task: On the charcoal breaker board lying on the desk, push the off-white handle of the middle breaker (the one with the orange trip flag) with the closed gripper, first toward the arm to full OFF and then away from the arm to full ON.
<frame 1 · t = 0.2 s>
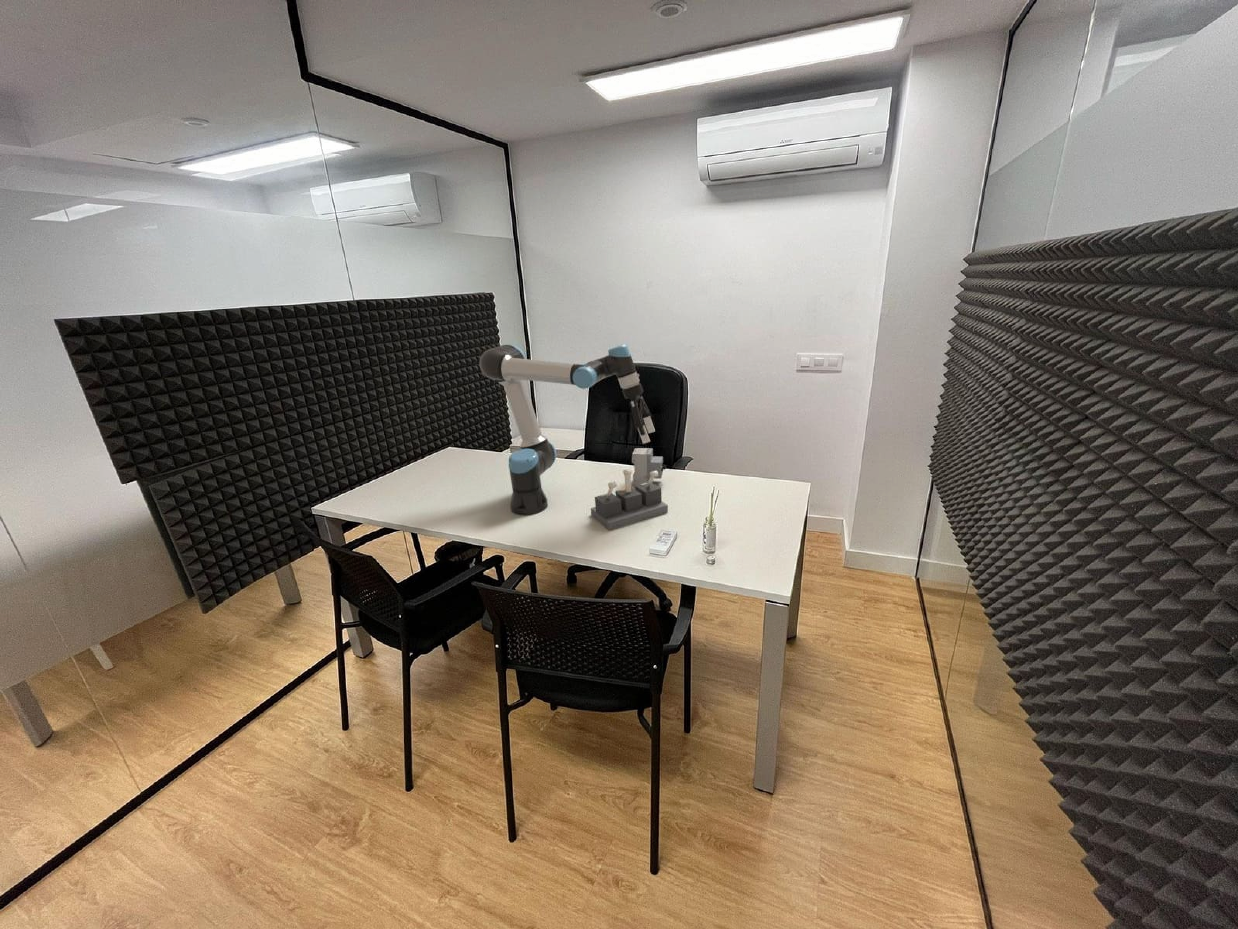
hand: (649, 437, 188), 28 cm above the table, tool tilted 20°, fingers open, 13 cm apart
breaker board: (629, 513, 189), on the table
tripped handle: (627, 480, 184), point 14 cm above the table, hinge at 0.0°
circuit breaker: (650, 483, 216), on the table
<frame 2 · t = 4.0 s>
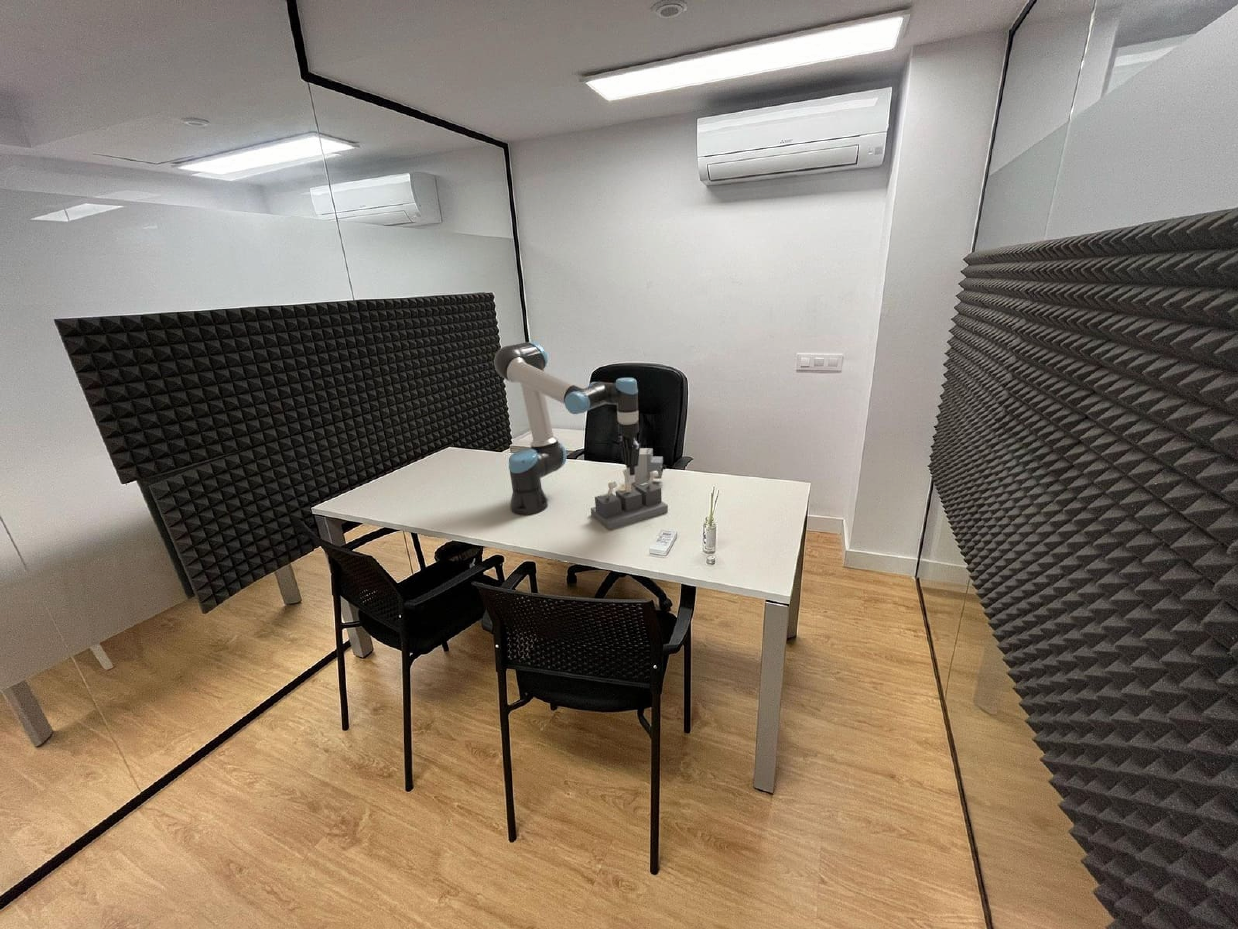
hand: (631, 482, 181), 14 cm above the table, tool pointing down, fingers closed
tripped handle: (627, 480, 184), point 14 cm above the table, hinge at -0.9°, touching gripper
everything else where it was.
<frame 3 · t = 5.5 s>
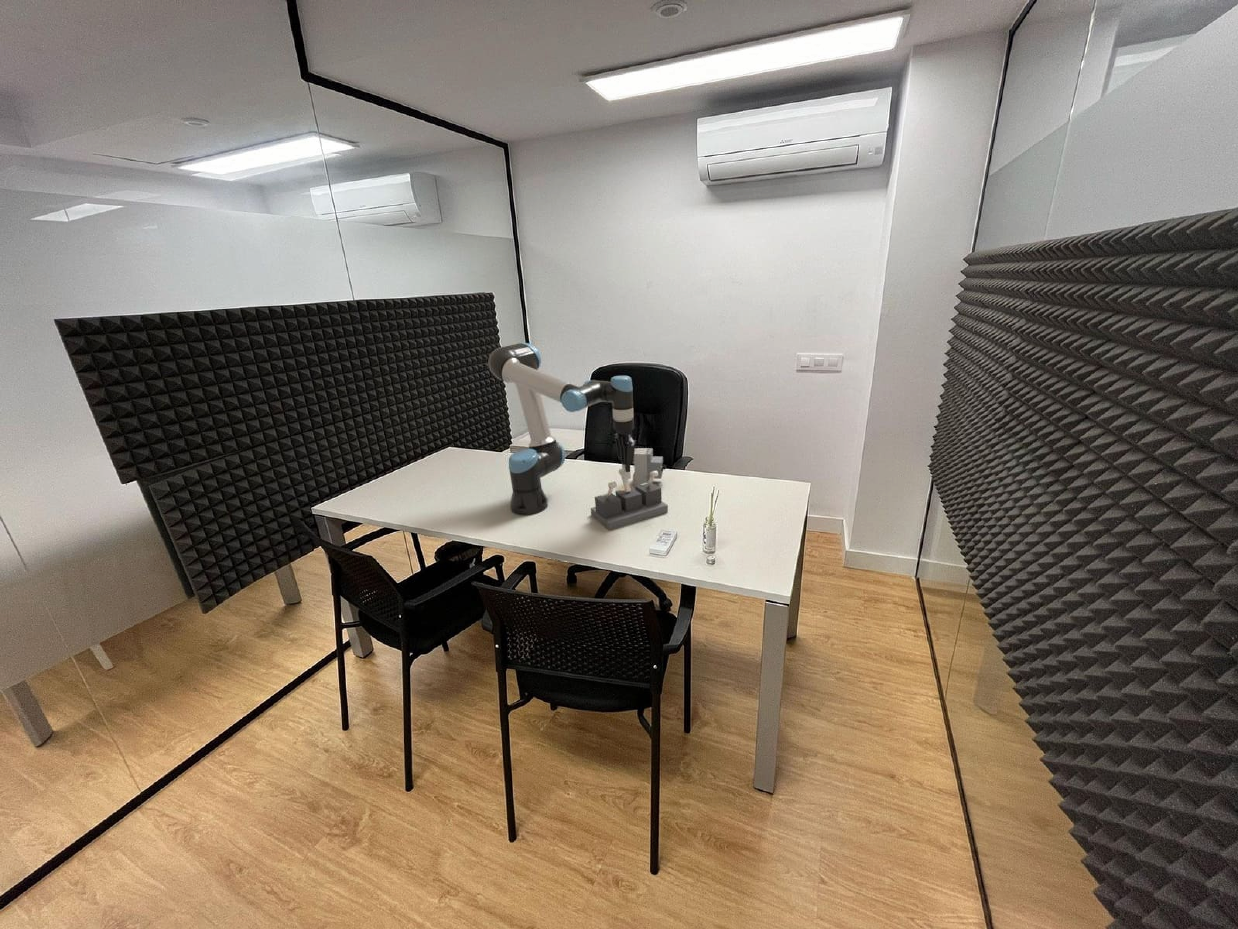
hand: (626, 478, 184), 15 cm above the table, tool pointing down, fingers closed
tripped handle: (625, 480, 185), point 14 cm above the table, hinge at -26.7°
everything else where it was.
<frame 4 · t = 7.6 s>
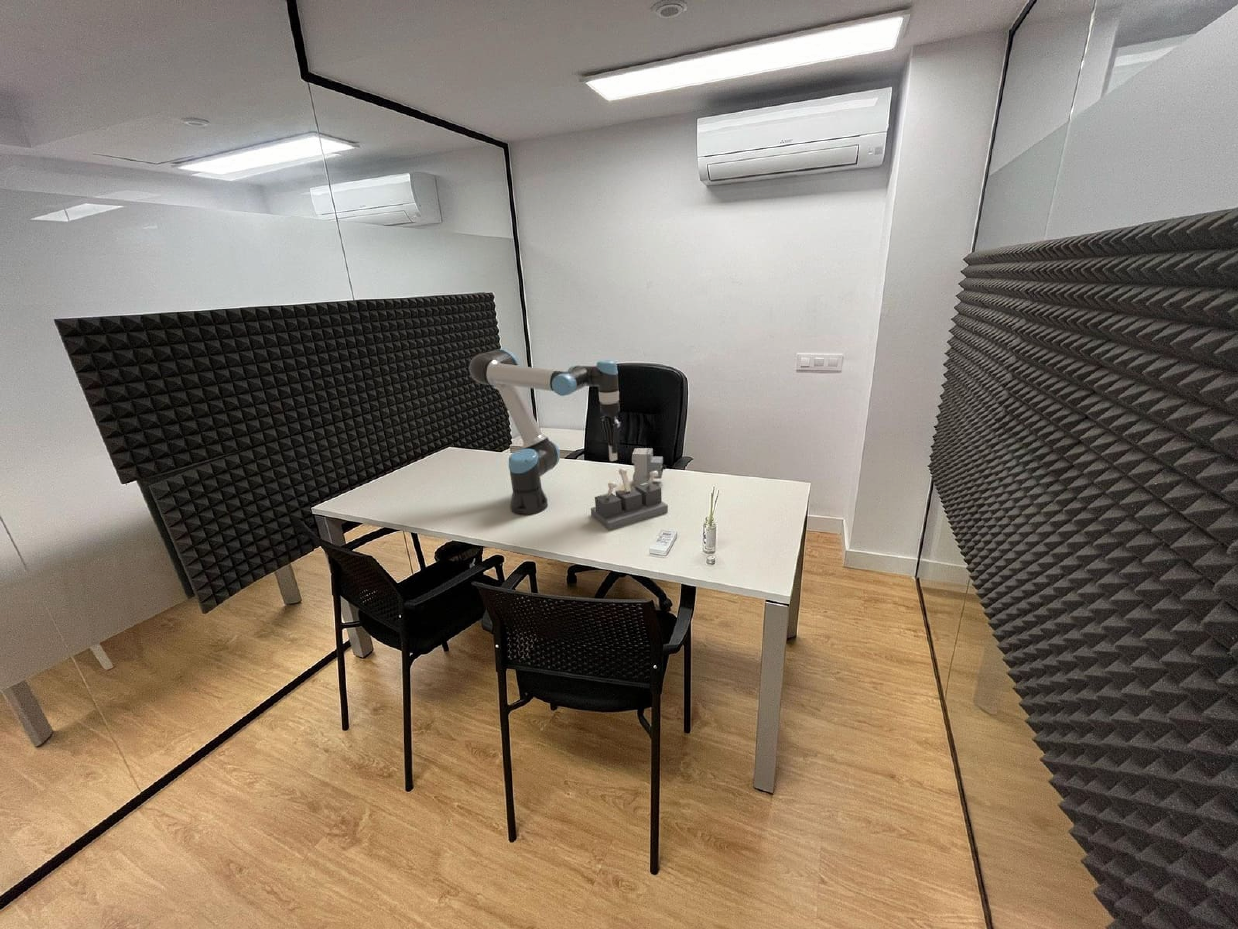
hand: (613, 459, 191), 19 cm above the table, tool pointing down, fingers closed
nothing on the table moved.
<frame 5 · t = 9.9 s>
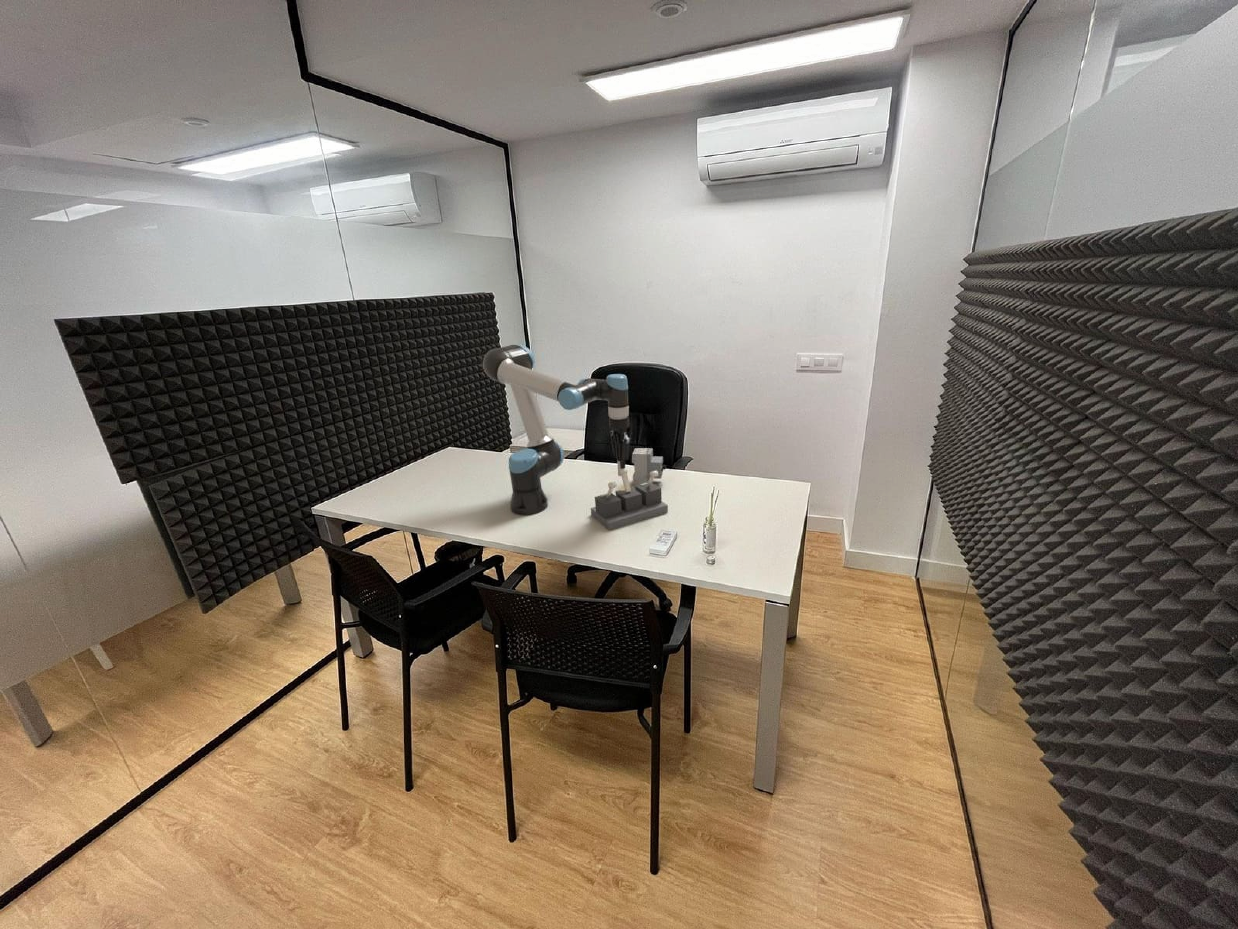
hand: (621, 475, 188), 15 cm above the table, tool pointing down, fingers closed
tripped handle: (625, 479, 185), point 14 cm above the table, hinge at -23.9°, touching gripper
everything else where it was.
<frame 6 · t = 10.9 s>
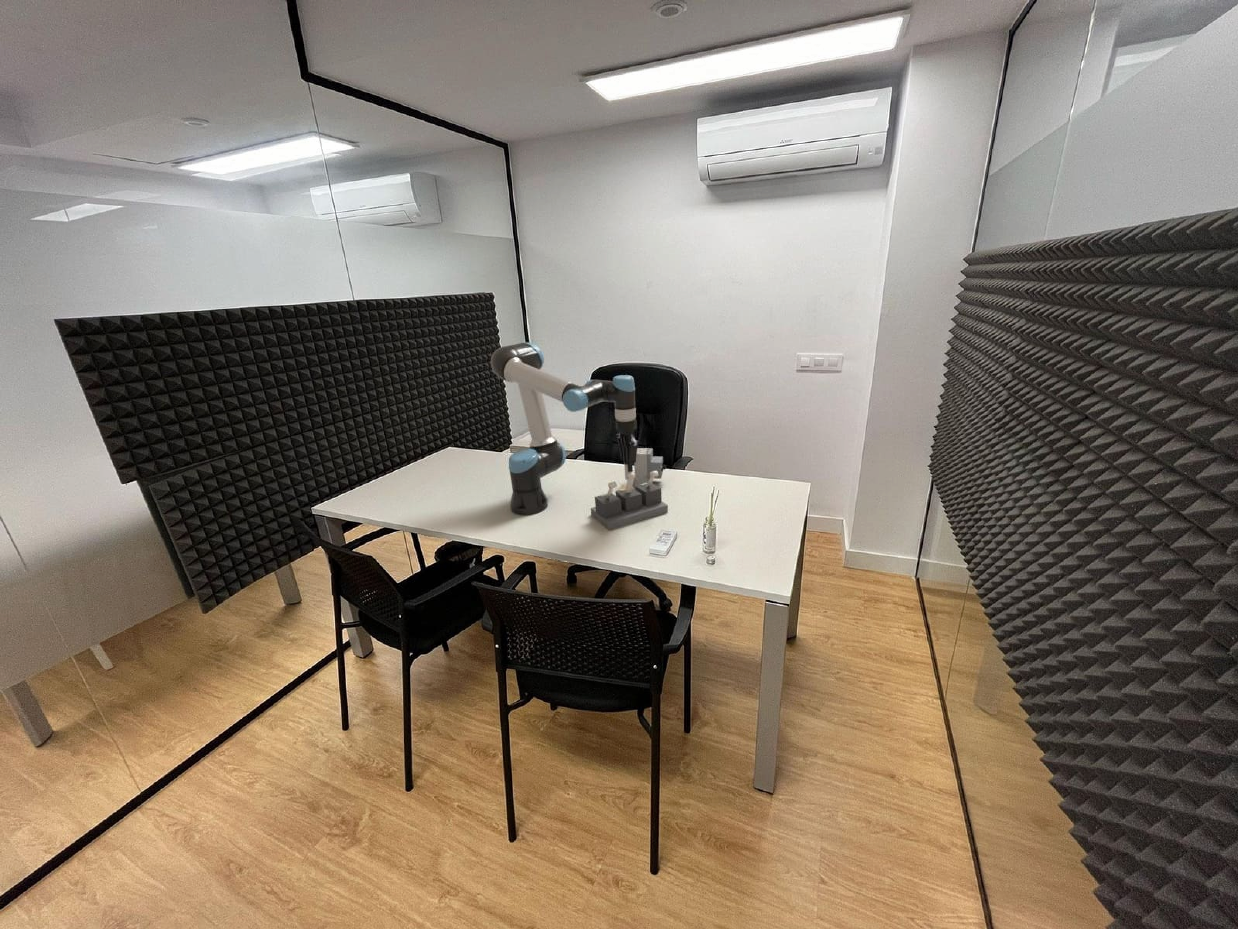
hand: (629, 478, 183), 15 cm above the table, tool pointing down, fingers closed
tripped handle: (629, 482, 182), point 14 cm above the table, hinge at 20.3°, touching gripper
everything else where it was.
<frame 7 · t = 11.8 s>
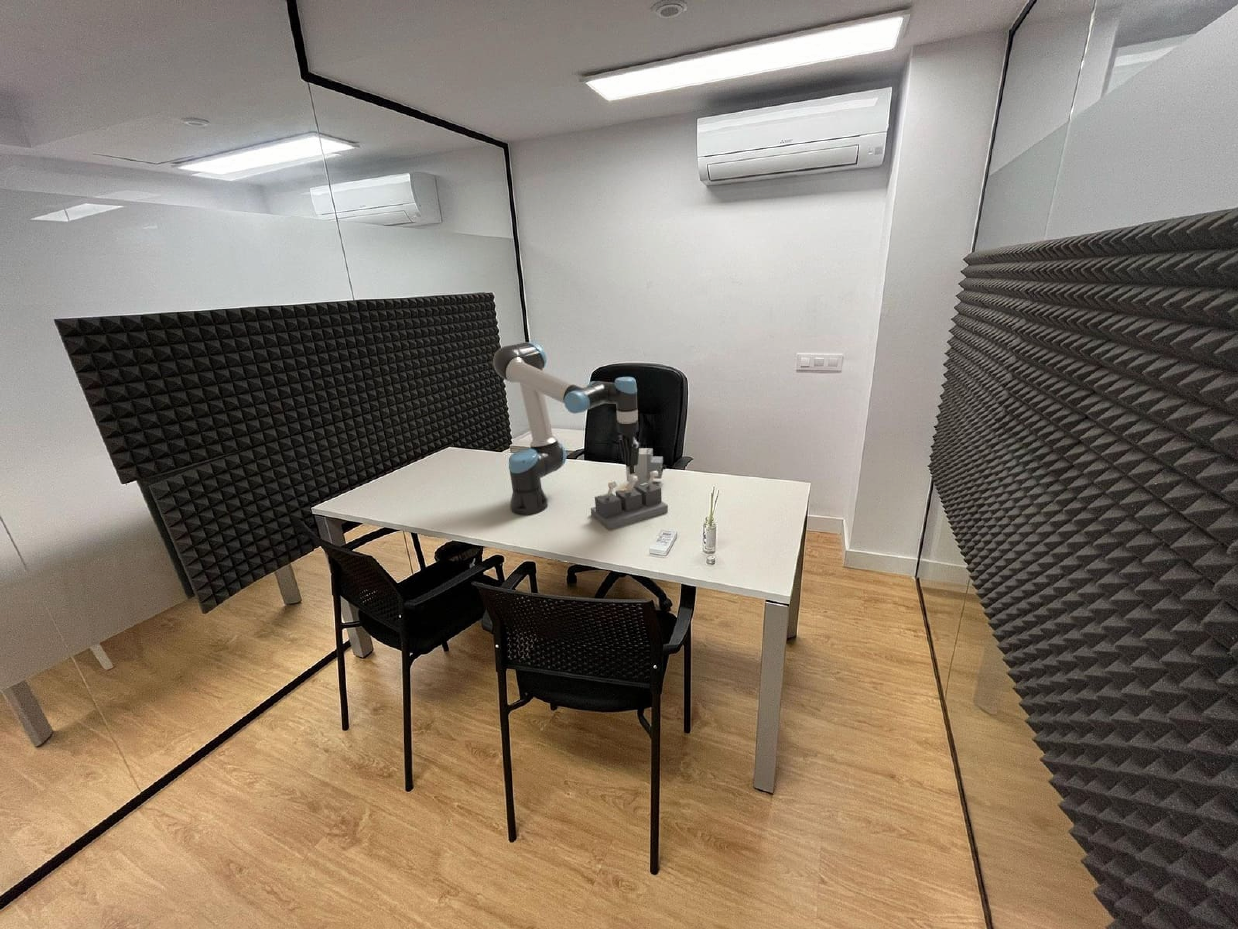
hand: (630, 480, 182), 14 cm above the table, tool pointing down, fingers closed
tripped handle: (631, 484, 182), point 13 cm above the table, hinge at 34.2°, touching gripper
everything else where it was.
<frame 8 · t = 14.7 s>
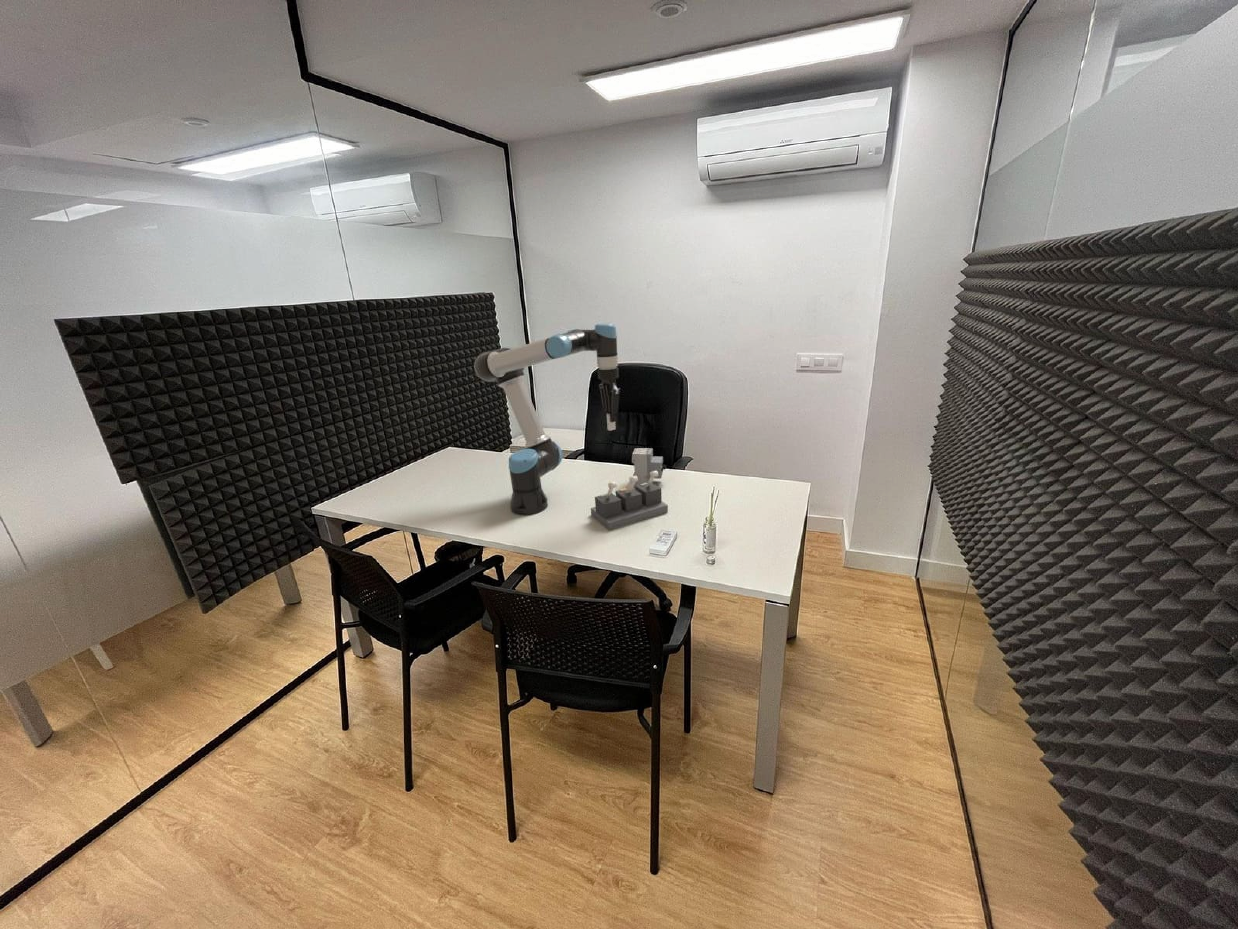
hand: (611, 429, 184), 32 cm above the table, tool pointing down, fingers closed
tripped handle: (631, 484, 182), point 13 cm above the table, hinge at 34.3°
everything else where it was.
at the end: tripped handle at +34° (first picture: +0°); circuit breaker moved 0.2 cm from its start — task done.
